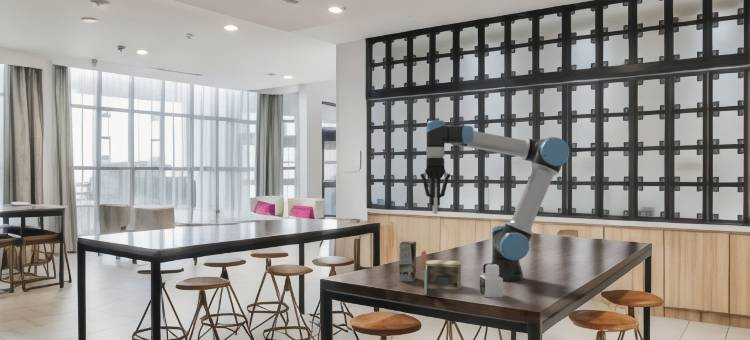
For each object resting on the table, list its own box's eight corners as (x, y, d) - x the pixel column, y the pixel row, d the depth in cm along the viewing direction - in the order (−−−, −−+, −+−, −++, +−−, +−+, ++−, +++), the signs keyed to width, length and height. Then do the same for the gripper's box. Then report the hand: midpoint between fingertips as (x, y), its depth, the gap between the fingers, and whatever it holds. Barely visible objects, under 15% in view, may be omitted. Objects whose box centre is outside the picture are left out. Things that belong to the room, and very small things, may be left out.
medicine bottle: (479, 293, 219) (479, 262, 219) (497, 293, 219) (497, 262, 219) (484, 297, 212) (484, 265, 212) (503, 297, 212) (503, 265, 212)
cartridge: (449, 283, 232) (449, 276, 232) (448, 285, 228) (448, 278, 228) (437, 283, 233) (437, 275, 233) (436, 285, 229) (436, 277, 229)
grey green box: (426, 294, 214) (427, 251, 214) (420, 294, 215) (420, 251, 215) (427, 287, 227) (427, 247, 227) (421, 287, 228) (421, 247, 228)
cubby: (460, 285, 234) (460, 261, 234) (459, 289, 225) (460, 264, 225) (426, 283, 237) (427, 259, 237) (424, 288, 228) (424, 263, 228)
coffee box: (413, 282, 240) (413, 244, 240) (398, 281, 242) (398, 243, 242) (416, 278, 249) (416, 241, 249) (402, 277, 251) (402, 240, 251)
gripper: (448, 157, 243) (448, 212, 243) (418, 157, 242) (418, 212, 242) (452, 157, 235) (452, 214, 235) (421, 157, 234) (421, 214, 234)
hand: (435, 213), depth 238 cm, fingers closed
